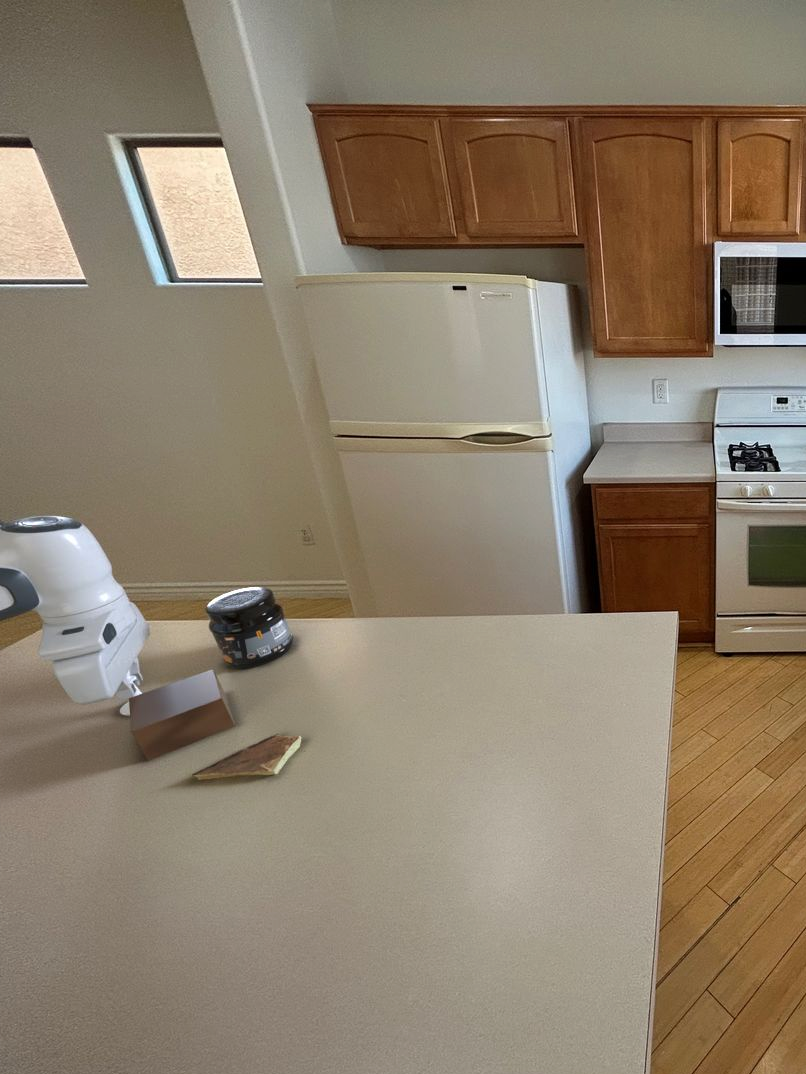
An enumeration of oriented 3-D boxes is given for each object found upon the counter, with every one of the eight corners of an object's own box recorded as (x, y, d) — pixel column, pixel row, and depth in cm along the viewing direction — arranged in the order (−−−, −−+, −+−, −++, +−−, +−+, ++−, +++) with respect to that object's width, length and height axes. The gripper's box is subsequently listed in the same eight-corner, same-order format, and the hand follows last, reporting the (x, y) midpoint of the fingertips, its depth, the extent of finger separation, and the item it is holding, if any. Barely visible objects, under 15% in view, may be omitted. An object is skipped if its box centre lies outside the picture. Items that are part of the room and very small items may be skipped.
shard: (194, 782, 77) (189, 773, 77) (234, 741, 84) (230, 732, 84) (275, 779, 78) (271, 770, 77) (308, 739, 85) (305, 730, 84)
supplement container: (227, 650, 105) (203, 596, 100) (295, 632, 111) (275, 579, 106) (224, 679, 97) (198, 622, 92) (297, 658, 103) (276, 602, 98)
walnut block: (148, 763, 80) (130, 732, 78) (145, 727, 87) (128, 698, 84) (236, 727, 87) (221, 698, 84) (226, 697, 93) (213, 668, 91)
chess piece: (119, 722, 88) (90, 671, 83) (122, 706, 91) (94, 656, 87) (161, 708, 91) (135, 658, 86) (162, 693, 94) (137, 644, 90)
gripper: (89, 592, 90) (126, 661, 96) (31, 659, 74) (80, 737, 80) (141, 583, 93) (174, 650, 99) (96, 646, 77) (138, 722, 83)
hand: (132, 690), depth 89 cm, fingers closed on chess piece
